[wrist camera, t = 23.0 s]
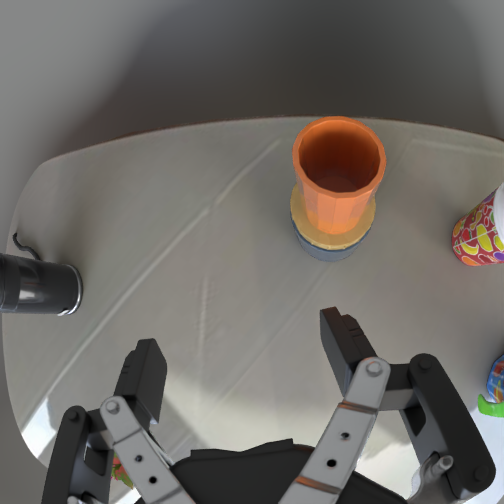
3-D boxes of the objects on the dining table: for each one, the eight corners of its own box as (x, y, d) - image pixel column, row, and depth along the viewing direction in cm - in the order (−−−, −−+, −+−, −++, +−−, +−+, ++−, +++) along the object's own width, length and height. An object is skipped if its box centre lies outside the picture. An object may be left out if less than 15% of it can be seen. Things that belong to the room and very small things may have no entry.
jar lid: (281, 234, 29) (278, 229, 27) (306, 163, 29) (305, 154, 27) (358, 261, 27) (361, 258, 25) (379, 186, 27) (383, 179, 25)
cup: (294, 222, 27) (279, 181, 17) (313, 167, 27) (307, 107, 17) (354, 243, 25) (374, 212, 15) (371, 185, 25) (392, 131, 16)
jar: (287, 248, 37) (275, 232, 27) (308, 188, 37) (304, 154, 28) (351, 271, 34) (362, 262, 25) (370, 208, 35) (385, 179, 26)
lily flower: (94, 460, 39) (81, 467, 35) (104, 427, 39) (88, 434, 35) (139, 496, 36) (127, 506, 31) (154, 466, 36) (140, 478, 32)
